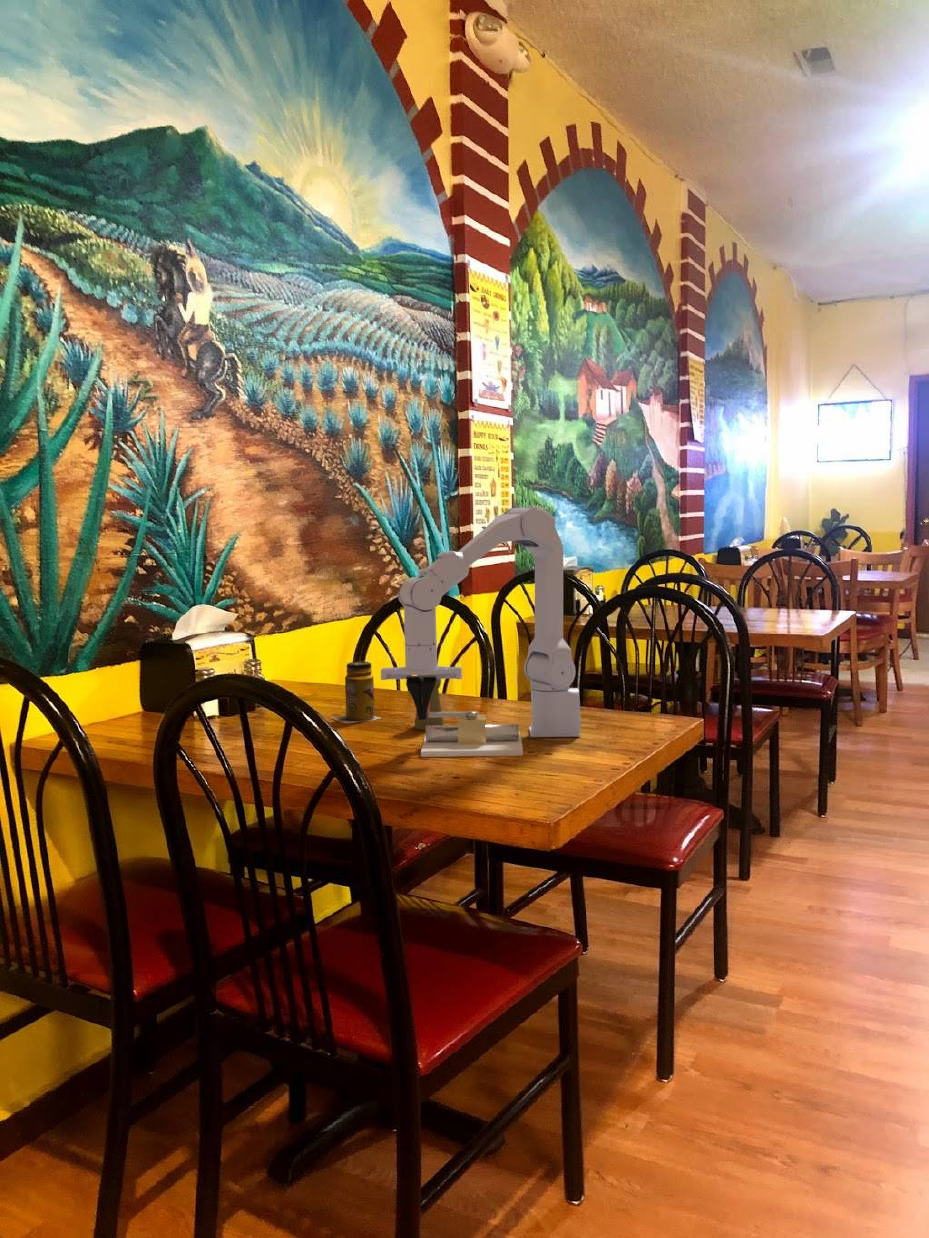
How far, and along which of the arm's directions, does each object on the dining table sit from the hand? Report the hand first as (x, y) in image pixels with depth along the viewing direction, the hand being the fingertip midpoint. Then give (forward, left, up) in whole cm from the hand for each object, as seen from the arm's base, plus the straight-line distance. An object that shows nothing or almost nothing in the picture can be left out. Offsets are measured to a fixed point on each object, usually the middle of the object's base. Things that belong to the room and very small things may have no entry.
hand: (422, 718), depth 175 cm
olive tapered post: (0, -21, -6) cm, 22 cm away
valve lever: (-4, -3, 0) cm, 5 cm away
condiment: (+16, -30, -6) cm, 34 cm away
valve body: (-9, -3, -6) cm, 11 cm away
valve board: (-9, -3, -6) cm, 11 cm away
